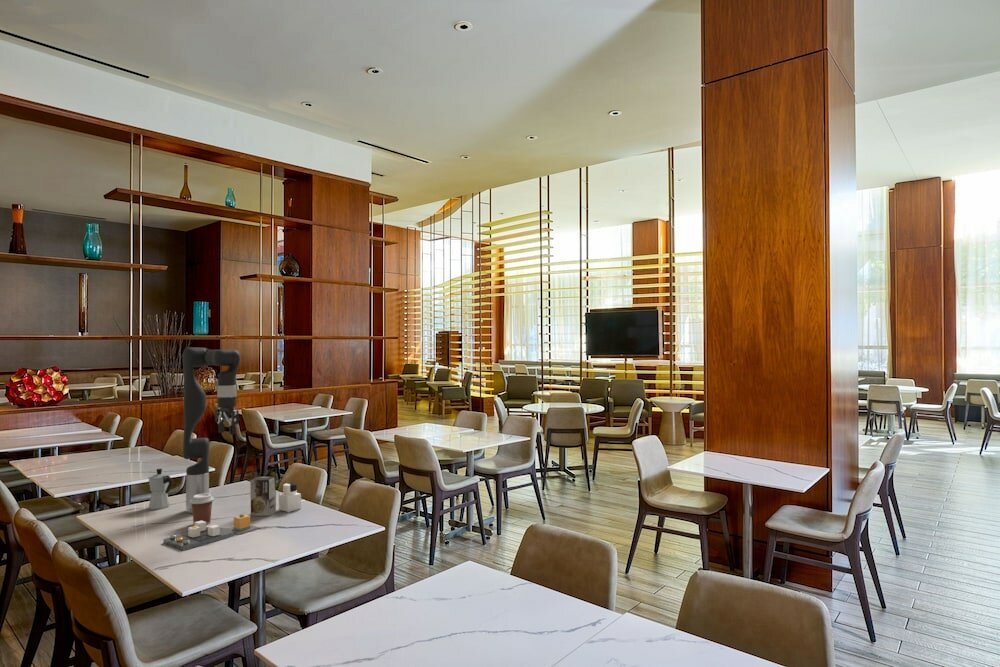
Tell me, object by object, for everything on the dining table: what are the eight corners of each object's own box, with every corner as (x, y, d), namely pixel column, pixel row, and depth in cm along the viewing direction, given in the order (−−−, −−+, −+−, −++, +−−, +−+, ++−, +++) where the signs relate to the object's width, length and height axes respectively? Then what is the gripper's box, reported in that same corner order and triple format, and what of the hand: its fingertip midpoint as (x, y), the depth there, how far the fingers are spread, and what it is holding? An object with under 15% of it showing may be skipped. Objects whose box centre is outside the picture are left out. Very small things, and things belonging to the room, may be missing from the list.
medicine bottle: (292, 506, 272) (292, 480, 272) (301, 508, 268) (301, 482, 268) (278, 510, 266) (278, 483, 266) (287, 512, 262) (287, 486, 262)
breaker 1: (194, 530, 232) (194, 522, 232) (201, 528, 234) (201, 520, 234) (199, 531, 230) (199, 523, 230) (206, 529, 232) (206, 521, 232)
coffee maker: (140, 508, 270) (141, 469, 271) (158, 503, 278) (158, 466, 279) (163, 511, 264) (163, 472, 265) (180, 506, 273) (180, 468, 273)
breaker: (207, 534, 226) (207, 526, 226) (214, 532, 228) (214, 524, 228) (212, 536, 224) (212, 528, 224) (219, 534, 226) (219, 526, 226)
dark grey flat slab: (163, 542, 223) (163, 536, 223) (214, 529, 239) (214, 522, 239) (183, 550, 214) (183, 543, 214) (234, 535, 230) (234, 529, 230)
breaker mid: (188, 535, 225) (188, 527, 225) (195, 533, 227) (195, 525, 227) (192, 537, 223) (192, 528, 223) (200, 535, 225) (200, 526, 225)
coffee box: (276, 512, 263) (276, 476, 263) (269, 516, 256) (269, 479, 257) (257, 511, 264) (257, 476, 264) (249, 515, 257) (249, 479, 258)
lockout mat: (223, 530, 237) (223, 529, 237) (246, 524, 245) (246, 523, 245) (237, 535, 231) (237, 534, 231) (260, 528, 239) (260, 527, 239)
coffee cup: (185, 527, 242) (185, 498, 242) (196, 520, 251) (196, 492, 251) (207, 526, 242) (207, 498, 242) (217, 520, 251) (217, 492, 251)
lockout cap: (233, 529, 237) (233, 514, 237) (244, 526, 241) (244, 512, 241) (239, 531, 235) (239, 516, 235) (250, 528, 238) (250, 514, 239)
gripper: (209, 395, 250) (209, 433, 250) (227, 397, 242) (227, 436, 242) (226, 394, 256) (226, 430, 256) (244, 395, 248) (244, 433, 248)
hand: (226, 433), depth 249 cm, fingers open, 8 cm apart
